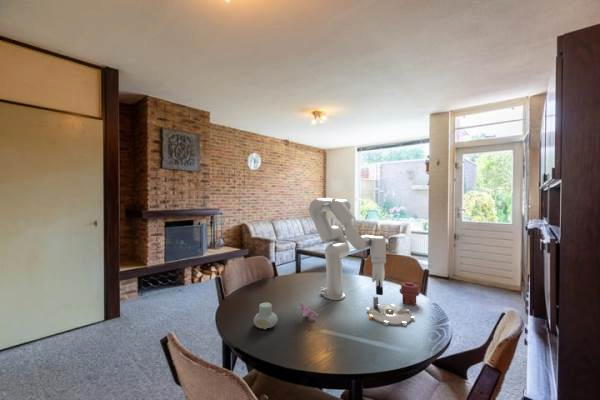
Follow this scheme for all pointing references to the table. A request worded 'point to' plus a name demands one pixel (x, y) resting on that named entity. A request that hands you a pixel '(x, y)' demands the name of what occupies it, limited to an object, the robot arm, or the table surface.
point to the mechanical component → (409, 293)
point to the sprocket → (389, 314)
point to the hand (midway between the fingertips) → (379, 294)
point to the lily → (306, 311)
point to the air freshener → (265, 316)
